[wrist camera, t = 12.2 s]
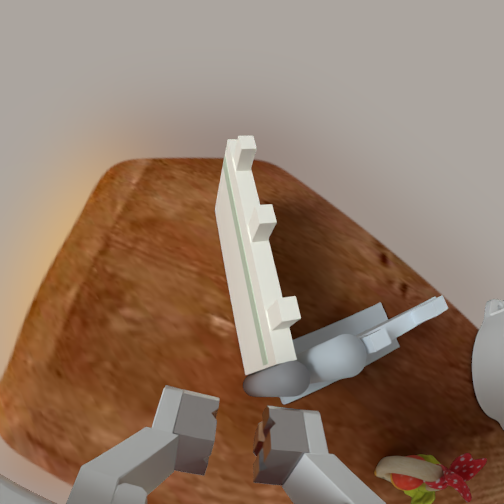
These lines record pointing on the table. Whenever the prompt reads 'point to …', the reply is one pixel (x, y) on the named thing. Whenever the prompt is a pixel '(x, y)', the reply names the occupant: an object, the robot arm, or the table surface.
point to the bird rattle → (428, 475)
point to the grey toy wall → (356, 342)
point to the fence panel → (256, 280)
